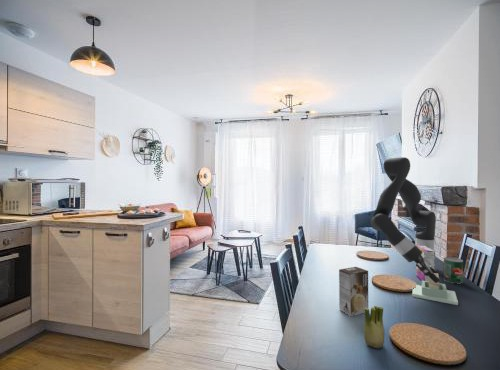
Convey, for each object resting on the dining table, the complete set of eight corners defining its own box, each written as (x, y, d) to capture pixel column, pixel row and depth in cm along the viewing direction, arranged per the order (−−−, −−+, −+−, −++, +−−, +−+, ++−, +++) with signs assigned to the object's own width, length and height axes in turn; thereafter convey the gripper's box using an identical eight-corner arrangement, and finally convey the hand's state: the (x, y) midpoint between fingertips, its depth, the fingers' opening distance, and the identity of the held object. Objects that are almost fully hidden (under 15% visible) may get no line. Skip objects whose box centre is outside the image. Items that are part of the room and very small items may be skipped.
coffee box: (356, 305, 111) (356, 266, 111) (368, 312, 105) (369, 270, 105) (338, 309, 107) (338, 269, 107) (350, 317, 101) (350, 274, 101)
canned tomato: (460, 285, 132) (461, 262, 132) (441, 280, 138) (441, 259, 138) (464, 281, 138) (464, 259, 138) (445, 277, 144) (446, 256, 143)
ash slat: (428, 290, 123) (428, 272, 123) (438, 291, 122) (438, 273, 121) (429, 293, 120) (429, 275, 120) (438, 295, 118) (438, 276, 118)
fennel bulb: (364, 347, 83) (364, 308, 83) (363, 339, 87) (363, 301, 87) (385, 352, 81) (385, 311, 80) (383, 343, 85) (384, 304, 85)
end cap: (412, 286, 130) (413, 277, 130) (454, 294, 122) (454, 284, 122) (412, 296, 119) (412, 286, 119) (458, 305, 111) (458, 294, 111)
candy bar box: (415, 276, 145) (415, 245, 145) (425, 276, 144) (425, 245, 144) (424, 283, 134) (424, 250, 134) (435, 284, 133) (435, 251, 133)
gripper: (414, 247, 118) (446, 278, 112) (414, 241, 130) (443, 269, 124) (399, 257, 121) (430, 289, 115) (401, 250, 133) (429, 278, 127)
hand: (437, 278), depth 120 cm, fingers open, 8 cm apart
